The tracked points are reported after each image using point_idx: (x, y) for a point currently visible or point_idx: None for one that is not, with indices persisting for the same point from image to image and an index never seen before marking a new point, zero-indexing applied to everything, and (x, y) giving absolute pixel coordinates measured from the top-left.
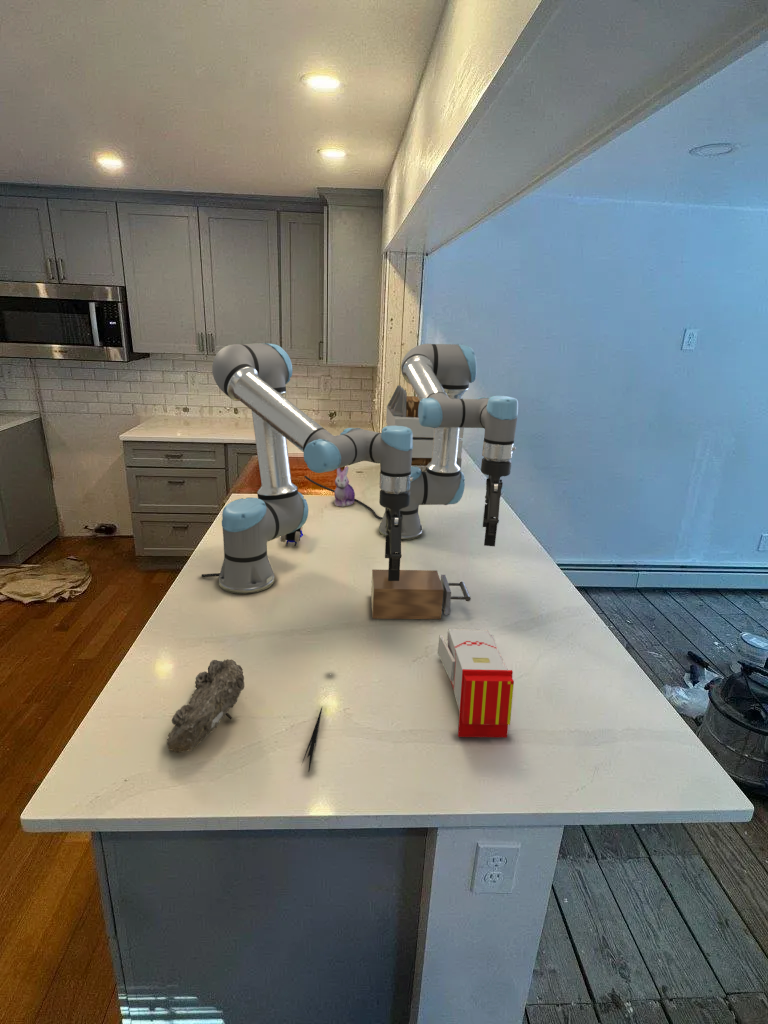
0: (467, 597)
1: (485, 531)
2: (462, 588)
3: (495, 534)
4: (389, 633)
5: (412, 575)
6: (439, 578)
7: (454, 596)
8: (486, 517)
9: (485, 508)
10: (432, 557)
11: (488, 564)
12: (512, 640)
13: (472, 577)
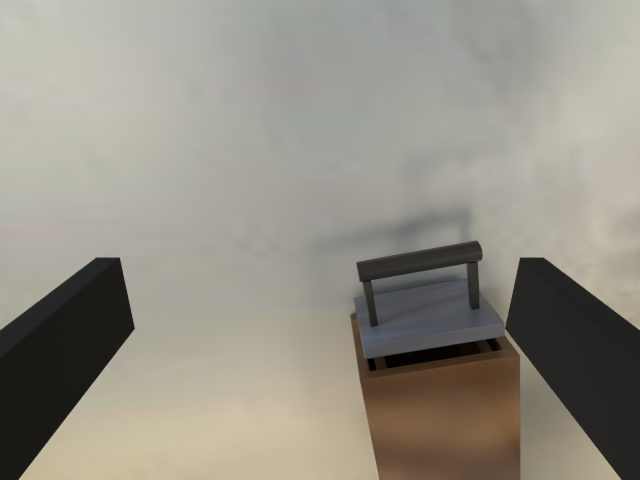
0: (481, 255)
1: (581, 412)
2: (411, 272)
3: (616, 320)
4: (546, 398)
5: (416, 445)
6: (429, 371)
7: (472, 296)
8: (80, 367)
9: (15, 470)
10: None
11: (12, 139)
12: (594, 79)
13: (161, 204)
